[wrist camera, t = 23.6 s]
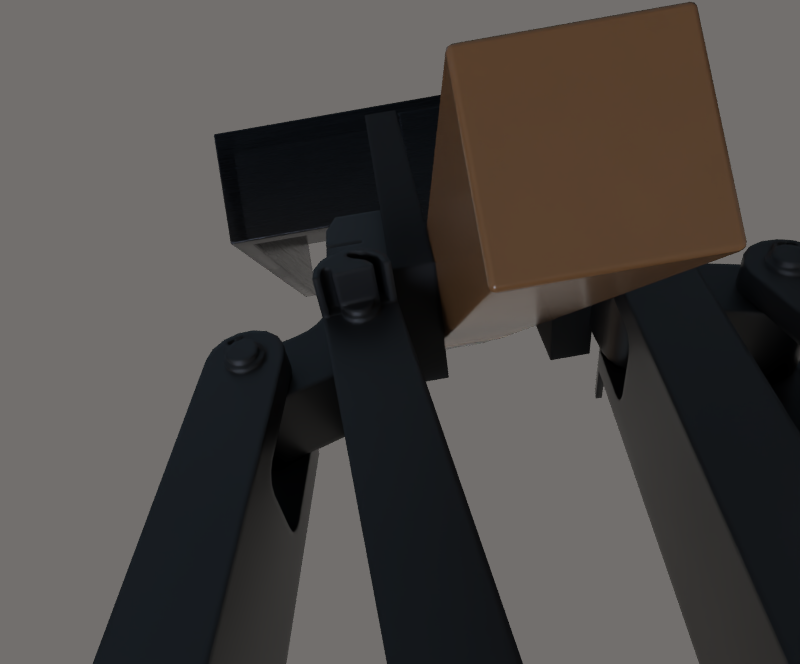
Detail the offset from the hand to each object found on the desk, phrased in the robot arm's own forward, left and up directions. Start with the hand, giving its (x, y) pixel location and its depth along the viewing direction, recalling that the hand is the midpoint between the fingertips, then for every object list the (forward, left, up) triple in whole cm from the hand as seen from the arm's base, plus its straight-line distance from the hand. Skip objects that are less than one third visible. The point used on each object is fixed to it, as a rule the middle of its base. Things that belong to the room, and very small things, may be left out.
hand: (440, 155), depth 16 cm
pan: (+1, -3, -3) cm, 5 cm away
